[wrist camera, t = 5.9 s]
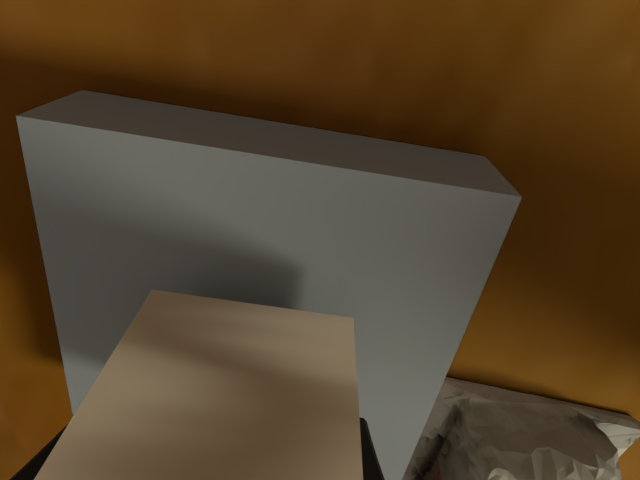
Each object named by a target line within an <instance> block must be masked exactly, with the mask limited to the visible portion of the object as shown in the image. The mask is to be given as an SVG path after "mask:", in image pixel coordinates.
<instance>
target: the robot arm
mask: <svg viewBox="0 0 640 480" xmlns="http://www.w3.org/2000/svg"><path fill="white" fill-rule="evenodd" d="M68 424H69V423H68ZM68 424H67V425H68ZM67 425H66V426H65V427H64V428H63V429H62V430H61V431H60V432H59V433H58V434H57V435H56V436H55V437H54V438H53V439H52V440H51V441H50V442H49V443H48V444H47V445H46V446H45V447H44V448H43V449H42V450H41V451H40V452H39V453H38V454H37V455H36V456H35V457H33V458H32V459H31V460H30V461H29V462H28V463H27V464H26V465H25V466H24V467H23V468H22V469H21V470H20V471H19V472H18V473H16V474H15V475H14V476H13V477H12V478H11V479H10V480H34V479H35V477H36V475H37V474H38V472H39V471H40V469H41V467H42V466H43V464H44V463H45V461H46V459H47V458H48V456H49V454H50V453H51V451H52V450H53V448H54V446H55V445H56V443H57V442H58V440H59V438H60V437H61V435H62V434H63V432H64V430H65V429H66V427H67ZM360 434H361V451H362V468H363V480H385V479H384V476H383V473H382V470H381V467H380V464H379V461H378V458H377V455H376V452H375V449H374V446H373V442H372V439H371V435H370V432H369V428H368V424H367V421H366V420H365V419H364V418H360Z"/></svg>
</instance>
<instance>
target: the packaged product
mask: <svg viewBox="0 0 640 480" xmlns="http://www.w3.org/2000/svg"><path fill="white" fill-rule="evenodd" d="M639 437H640V422H639V421H637V420H636V419H634V418H633V417H631V416H628V415H623V414H619V413H615V412H611V411H606V410H602V409H597V408H592V407H588V406H583V405H579V404H574V403H569V402H565V401H560V400H556V399H551V398H546V397H542V396H537V395H532V394H526V393H520V392H514V391H510V390H506V389H501V388H497V387H493V386H488V385H483V384H478V383H473V382H468V381H463V380H458V379H453V378H449V377H445V379H444V382H443V384H442V386H441V389H440V391H439V394H438V396H437V398H436V401H435V403H434V405H433V408H432V410H431V412H430V415H429V417H428V419H427V422H426V424H425V426H424V429H423V431H422V433H421V436H420V438H419V440H418V443H417V445H416V447H415V450H414V452H413V455H412V457H411V459H410V462H409V464H408V466H407V469H406V471H405V473H404V476H403V478H402V480H622V479H621V472H620V467H619V462H618V457H619V456H620V455H621V454H622V453H623V452H624V451H625V450H626V449H627V448H628V447H629V446H630V445H631V444H633V443H634V442H635V441H636V440H637V439H638V438H639Z"/></svg>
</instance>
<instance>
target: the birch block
mask: <svg viewBox="0 0 640 480" xmlns="http://www.w3.org/2000/svg"><path fill="white" fill-rule="evenodd" d="M34 480H363V468H362V451H361V434H360V417H359V401H358V384H357V367H356V350H355V333H354V318H351V317H344V316H337V315H330V314H323V313H315V312H308V311H301V310H294V309H287V308H280V307H273V306H266V305H258V304H251V303H244V302H237V301H230V300H223V299H216V298H209V297H201V296H194V295H187V294H180V293H173V292H166V291H159V290H151V292H150V293H149V295H148V296H147V298H146V300H145V301H144V303H143V305H142V306H141V308H140V309H139V311H138V313H137V314H136V316H135V317H134V319H133V321H132V322H131V324H130V326H129V327H128V329H127V330H126V332H125V334H124V335H123V337H122V338H121V340H120V342H119V343H118V345H117V346H116V348H115V350H114V351H113V353H112V355H111V356H110V358H109V359H108V361H107V363H106V364H105V366H104V367H103V369H102V371H101V372H100V374H99V375H98V377H97V379H96V380H95V382H94V384H93V385H92V387H91V388H90V390H89V392H88V393H87V395H86V396H85V398H84V400H83V401H82V403H81V405H80V406H79V408H78V409H77V411H76V413H75V414H74V416H73V417H72V419H71V421H70V422H69V424H68V425H67V427H66V429H65V430H64V432H63V434H62V435H61V437H60V438H59V440H58V442H57V443H56V445H55V446H54V448H53V450H52V451H51V453H50V454H49V456H48V458H47V459H46V461H45V463H44V464H43V466H42V467H41V469H40V471H39V472H38V474H37V475H36V477H35V479H34Z"/></svg>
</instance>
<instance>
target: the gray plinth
mask: <svg viewBox="0 0 640 480" xmlns="http://www.w3.org/2000/svg"><path fill="white" fill-rule="evenodd" d="M16 120H17V125H18V130H19V136H20V141H21V146H22V151H23V157H24V162H25V167H26V172H27V177H28V183H29V188H30V193H31V198H32V203H33V209H34V214H35V219H36V224H37V229H38V235H39V240H40V245H41V250H42V255H43V261H44V266H45V271H46V276H47V282H48V287H49V292H50V297H51V302H52V308H53V313H54V318H55V323H56V328H57V334H58V339H59V344H60V349H61V354H62V360H63V365H64V370H65V375H66V380H67V386H68V391H69V396H70V401H71V407H72V412H73V416H74V414H75V413H76V411H77V409H78V408H79V406H80V405H81V403H82V401H83V400H84V398H85V396H86V395H87V393H88V392H89V390H90V388H91V387H92V385H93V384H94V382H95V380H96V379H97V377H98V375H99V374H100V372H101V371H102V369H103V367H104V366H105V364H106V363H107V361H108V359H109V358H110V356H111V355H112V353H113V351H114V350H115V348H116V346H117V345H118V343H119V342H120V340H121V338H122V337H123V335H124V334H125V332H126V330H127V329H128V327H129V326H130V324H131V322H132V321H133V319H134V317H135V316H136V314H137V313H138V311H139V309H140V308H141V306H142V305H143V303H144V301H145V300H146V298H147V296H148V295H149V293H150V292H151V290H159V291H166V292H173V293H180V294H187V295H194V296H201V297H209V298H216V299H223V300H230V301H237V302H244V303H251V304H258V305H266V306H273V307H280V308H287V309H294V310H301V311H308V312H315V313H323V314H330V315H337V316H344V317H351V318H354V333H355V350H356V367H357V384H358V401H359V417H360V418H364V419H365V420H366V421H367V424H368V428H369V432H370V435H371V439H372V442H373V446H374V449H375V452H376V455H377V458H378V461H379V464H380V467H381V470H382V473H383V476H384V479H385V480H402V478H403V476H404V473H405V471H406V469H407V466H408V464H409V462H410V459H411V457H412V455H413V452H414V450H415V447H416V445H417V443H418V440H419V438H420V436H421V433H422V431H423V429H424V426H425V424H426V422H427V419H428V417H429V415H430V412H431V410H432V408H433V405H434V403H435V401H436V398H437V396H438V394H439V391H440V389H441V386H442V384H443V382H444V379H445V377H446V375H447V372H448V370H449V368H450V365H451V363H452V361H453V358H454V356H455V354H456V351H457V349H458V347H459V344H460V342H461V340H462V337H463V335H464V333H465V330H466V328H467V325H468V323H469V321H470V318H471V316H472V314H473V311H474V309H475V307H476V304H477V302H478V300H479V297H480V295H481V293H482V290H483V288H484V286H485V283H486V281H487V279H488V276H489V274H490V272H491V269H492V267H493V264H494V262H495V260H496V257H497V255H498V253H499V250H500V248H501V246H502V243H503V241H504V239H505V236H506V234H507V232H508V229H509V227H510V225H511V222H512V220H513V218H514V215H515V213H516V211H517V208H518V206H519V203H520V201H521V199H522V196H521V195H520V194H519V193H518V192H517V191H516V190H515V188H514V187H513V186H512V185H511V184H510V183H509V182H508V181H507V180H506V179H505V177H504V176H503V175H502V174H501V173H500V172H499V171H498V170H497V169H496V168H495V166H494V165H493V164H492V163H491V162H490V161H489V160H488V159H487V158H486V157H485V156H481V155H475V154H469V153H462V152H456V151H450V150H444V149H438V148H432V147H426V146H420V145H414V144H408V143H402V142H396V141H390V140H384V139H378V138H371V137H365V136H359V135H353V134H347V133H341V132H335V131H329V130H323V129H317V128H311V127H305V126H299V125H293V124H287V123H280V122H274V121H268V120H262V119H256V118H250V117H244V116H238V115H232V114H226V113H220V112H214V111H208V110H202V109H196V108H190V107H183V106H177V105H171V104H165V103H159V102H153V101H147V100H141V99H135V98H129V97H123V96H117V95H111V94H105V93H99V92H92V91H86V90H80V91H78V92H75V93H73V94H70V95H67V96H65V97H62V98H60V99H57V100H55V101H52V102H49V103H47V104H44V105H42V106H39V107H37V108H34V109H31V110H29V111H26V112H24V113H21V114H19V115H16Z"/></svg>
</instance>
